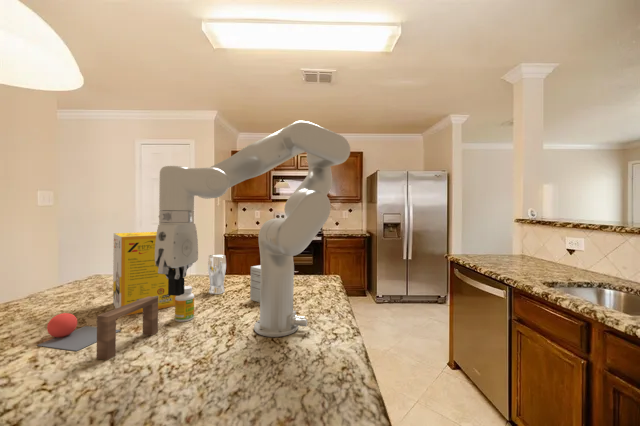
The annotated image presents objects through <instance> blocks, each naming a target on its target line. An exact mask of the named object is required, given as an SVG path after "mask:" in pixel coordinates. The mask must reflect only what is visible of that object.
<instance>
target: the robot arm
mask: <svg viewBox="0 0 640 426" xmlns="http://www.w3.org/2000/svg"><path fill="white" fill-rule="evenodd" d="M304 153H306V161H307V166H308V172H307V175H306V177H305V178H304V179H303V181H302V182H301V183H300V184H299V185H298V186H297V188H296V190H294V191H293V192H292V194H291V195H290V196H289V197H288V198H287V200H286V202H285V203H284V214H285V216H286V217H287V218H278V217H277V218H271V219H269V220H266V221H265V222H264V223H263V224H262V226H261V227H260V229H259V232H258V247H259V257H260V265H261V274H260V303H259V320H257V321H256V322H255V323H254V325H253V330H254V332H255V333H256V334H258V335H260V336H263V337H268V338H278V337H279V338H280V337H285V336H289V335H291V334H294V333H295V332H296V331H298V329H299V326H300V327H307V326H308V319H307V318H306V316H300V315H299V316H298V315H297V310H294V283H295V282H294V281H295V279H294V278H295V265H294V264H295V263H294V256H295V257H296V256H297V255H299V254H301V253H302V252H304V250H305V249H307V248H308V247H309V245H310V244H311V242H312V241H313V240H314V238H315V237H316V236H317V235H318V234H319V232H320V231H321V229H322V228H323V227H324V226H325V224H326V223H327V221H328V219H329V217H330V213H331V208H332V207H331V202H330V201H331V200H330V198H329V197H328V194H329V193H330V191H331V189H332V187H333V175H332V174H333V172H332V167H333V166H339V165H342V164H343V163H345V162H346V161H347V160H348V159H349V157H350V155H351V146H350V142H349V141H348V140H347V138H346V137H345V136H343V135H341V134H339V133H337V132H335V131H332V130H330V129H328V128H326V127H322V126H320V125H318V124H315V123H313V122H310V121H305V120H296V121H295V122H293V123H290V124H288V125H287V126H285V127H283V128H281V129H279V130H278V131H275V132H273V133H271V134H269V135H267V136H265V137H263V138H260V139H259V140H256V141H254V142H253V143H251V144H248V145H247V146H245V147H243V148H242V149H240V150H239V151H237V152H236V153H234V154H232V155H231V156H229V157H227V158H225V159H223V160H222V161H219V162H217V163H216V164H214V165H212V166H210V167H187V166H181V165H165V166H162V167H161V168H160V170H159V199H158V201H159V203H158V206H159V207H158V209H159V210H158V225H157V229H156V232H157V235H156V243H155V264H156V266H157V267H159V268H158V274H165V275H166V278H167V279H168V294H169V295H174V296H180V295H182V294H184V286H185V278H187V271H188V269H189V268H191V267H192V266H193V265H194V264H195V263H196V262H198V260H199V243H198V241H199V240H198V232H197V227H196V223H195V196H197V197H199V198H201V199H205V200H206V199H207V200H208V199H209V200H210V199H217V198H221V197H222V196H224V195H225V194H227V191H228V190H229V189H230V188H232V187H234V186H235V185H238V184H240V183H242V182H244V181H247V180H249V179H253V178H256V177H258V176H261V175H263V174H266V173H267V172H269V171H271V170H272V169H274V168H276V167H278V166H280V165H282V164H283V163H285V162H287V161H289V160H291V159H292V158H294V157H296V156H298V155H301V154H304ZM173 269H174V270H173Z"/></svg>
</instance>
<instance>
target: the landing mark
mask: <svg viewBox="0 0 640 426" xmlns="http://www.w3.org/2000/svg"><path fill="white" fill-rule="evenodd" d="M120 332H121V329H116V334H117V333H120ZM94 344H97V326H89V325H84V326H82V327H79V328H77V329H75V330H74V331H73V332H72V333H71V334H69V335H67V336H65V337H53V338H51V339H49V340H46V341H44V342H43V341H42V342H41V343H38V344H37V345H36V346H37V347H42V346H43V348H50V349H57V350H63V351H64V350H65V351H70V352H71V351H72V352H78V351H81V350H83V349H85V348H88V347H89V346H92V345H94Z"/></svg>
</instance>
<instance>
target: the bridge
mask: <svg viewBox="0 0 640 426" xmlns="http://www.w3.org/2000/svg"><path fill="white" fill-rule="evenodd" d="M141 308H143V312H142V335H146V336H154V335H156V334H158V333H159V309H158V297H150V296H149V297H146V298H143V299H140V300H138V301H135V302H132V303H130V304H127V305H124V306H122V307H119V308H114V309H111V310H109V311H106V312H103V313H100V314H97V315H96V327H97V342H96V359H98V360H104V361H109V360H110V359H112V358H114V357H116V355H117V353H116V351H117V350H116V348H117V347H116V345H117V344H116V343H117V333H116V330H117V319H119V318H122V317H124V315H126V316H128V315H127V314H129V313H132V312H134V311H136V310H139V309H141Z"/></svg>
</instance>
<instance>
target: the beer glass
mask: <svg viewBox="0 0 640 426" xmlns="http://www.w3.org/2000/svg"><path fill="white" fill-rule="evenodd" d="M226 270H227V258H226V255H225V254H221V253H220V254H219V253H218V254H210V255H208V262H207V272H208V273H207V274H208V278H209V290H208V294H210V295H220V294H224V293H225V291H226V289H225V285H224V284H225V277H226V276H225V275H226Z"/></svg>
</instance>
